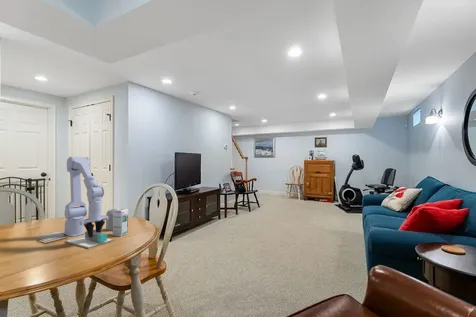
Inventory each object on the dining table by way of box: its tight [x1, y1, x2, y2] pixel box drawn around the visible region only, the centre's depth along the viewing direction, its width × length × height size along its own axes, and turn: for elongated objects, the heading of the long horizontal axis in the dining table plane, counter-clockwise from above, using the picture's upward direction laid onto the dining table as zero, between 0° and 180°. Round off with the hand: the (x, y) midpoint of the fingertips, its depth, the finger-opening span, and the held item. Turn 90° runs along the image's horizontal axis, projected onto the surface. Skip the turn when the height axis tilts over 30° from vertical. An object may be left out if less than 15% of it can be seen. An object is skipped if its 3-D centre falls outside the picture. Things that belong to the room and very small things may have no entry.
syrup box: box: [112, 208, 129, 237], centre depth 143 cm, size 6×6×14 cm
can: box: [105, 208, 117, 232], centre depth 153 cm, size 8×8×12 cm
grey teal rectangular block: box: [84, 230, 108, 242], centre depth 129 cm, size 12×4×4 cm, turn 64°
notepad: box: [64, 235, 115, 250], centre depth 129 cm, size 19×14×1 cm
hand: (94, 236), depth 130 cm, fingers closed on grey teal rectangular block, 3 cm apart
